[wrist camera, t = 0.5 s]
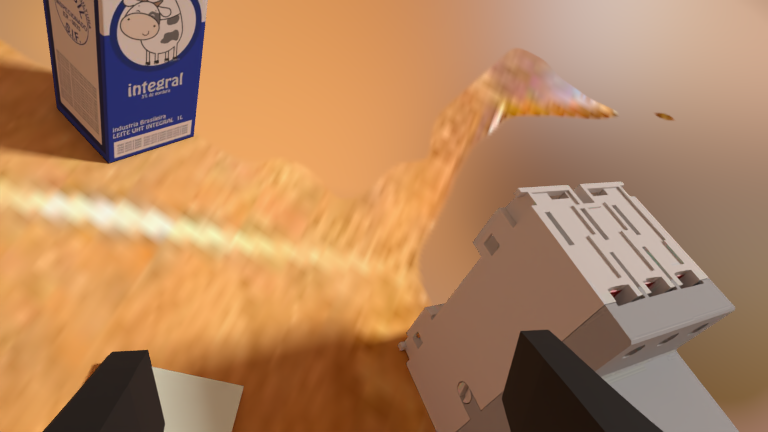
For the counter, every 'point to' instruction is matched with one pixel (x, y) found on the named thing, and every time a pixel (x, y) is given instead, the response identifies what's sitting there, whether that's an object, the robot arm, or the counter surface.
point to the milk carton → (127, 70)
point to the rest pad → (196, 402)
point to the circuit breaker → (571, 310)
